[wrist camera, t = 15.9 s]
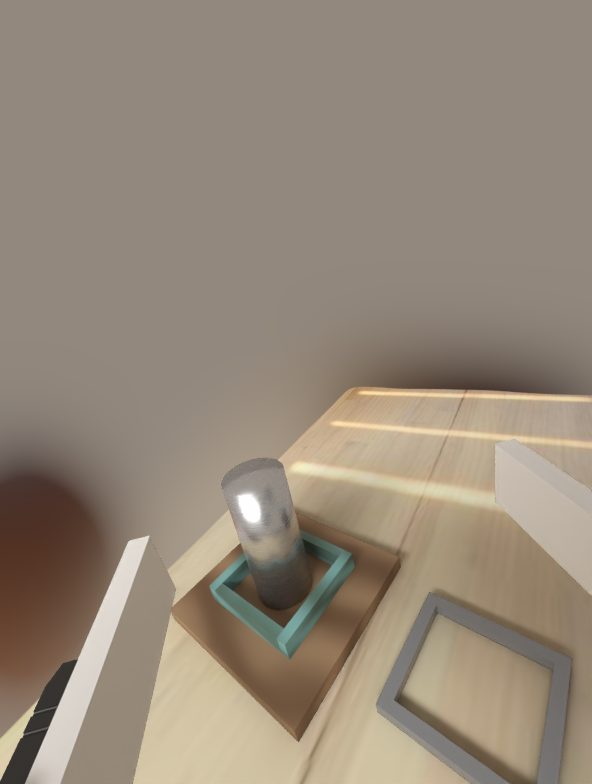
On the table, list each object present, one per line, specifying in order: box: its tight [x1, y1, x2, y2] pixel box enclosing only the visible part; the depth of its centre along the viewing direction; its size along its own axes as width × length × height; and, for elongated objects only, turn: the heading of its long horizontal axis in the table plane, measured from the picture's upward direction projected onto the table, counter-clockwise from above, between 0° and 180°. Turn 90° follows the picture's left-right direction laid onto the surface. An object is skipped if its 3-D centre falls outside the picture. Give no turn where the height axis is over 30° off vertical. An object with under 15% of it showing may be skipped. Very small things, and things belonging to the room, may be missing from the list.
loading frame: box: [376, 592, 572, 784], centre depth 27 cm, size 11×11×1 cm
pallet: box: [171, 513, 400, 742], centre depth 38 cm, size 18×18×4 cm
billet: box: [221, 458, 312, 610], centre depth 35 cm, size 6×6×14 cm
